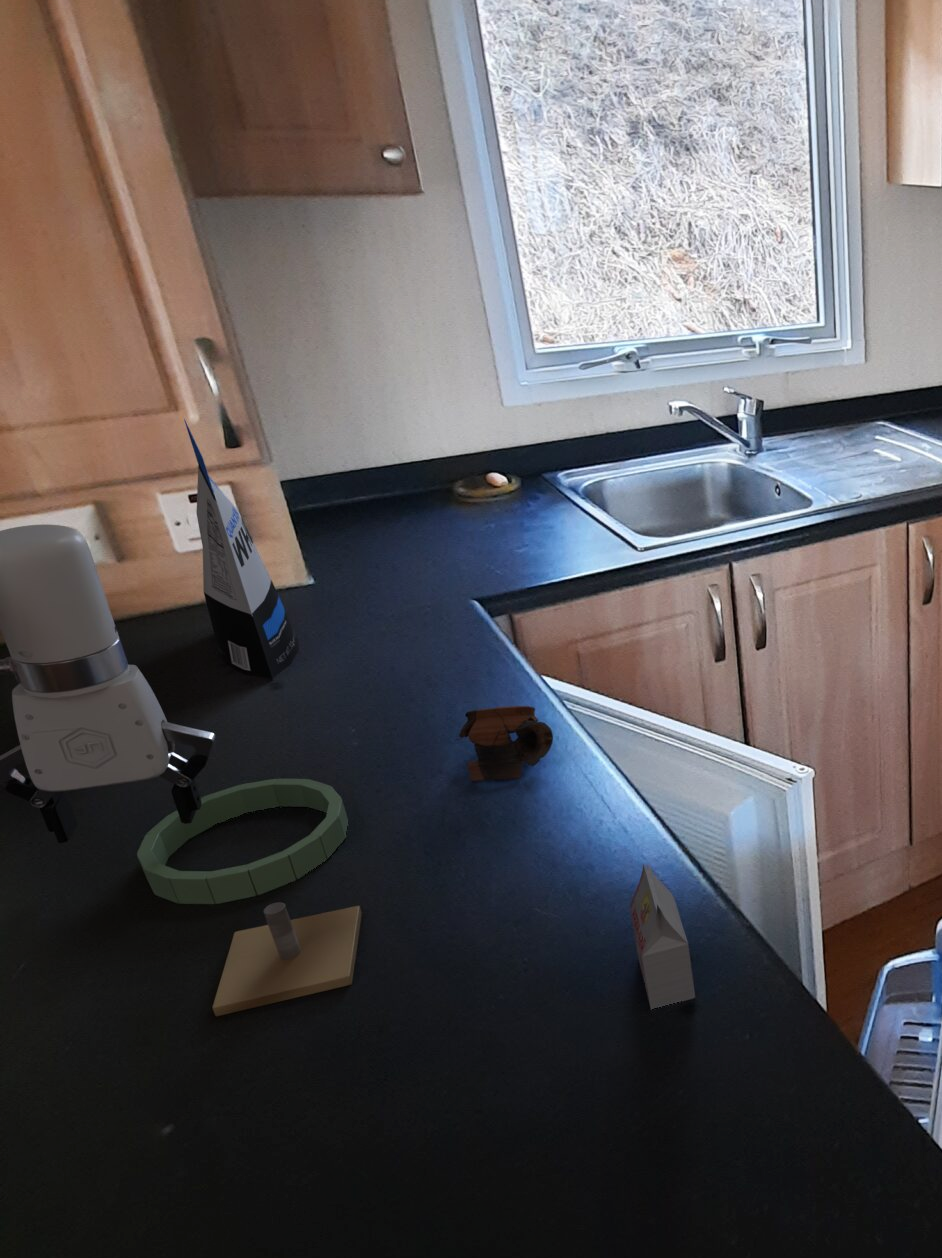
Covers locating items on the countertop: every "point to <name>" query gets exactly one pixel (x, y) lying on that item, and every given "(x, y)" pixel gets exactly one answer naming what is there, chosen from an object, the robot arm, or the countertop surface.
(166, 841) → the hoop
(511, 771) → the pottery mug
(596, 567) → the countertop surface
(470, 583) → the countertop surface
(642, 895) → the gable top carton
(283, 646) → the protein powder
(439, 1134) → the countertop surface
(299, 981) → the stand
